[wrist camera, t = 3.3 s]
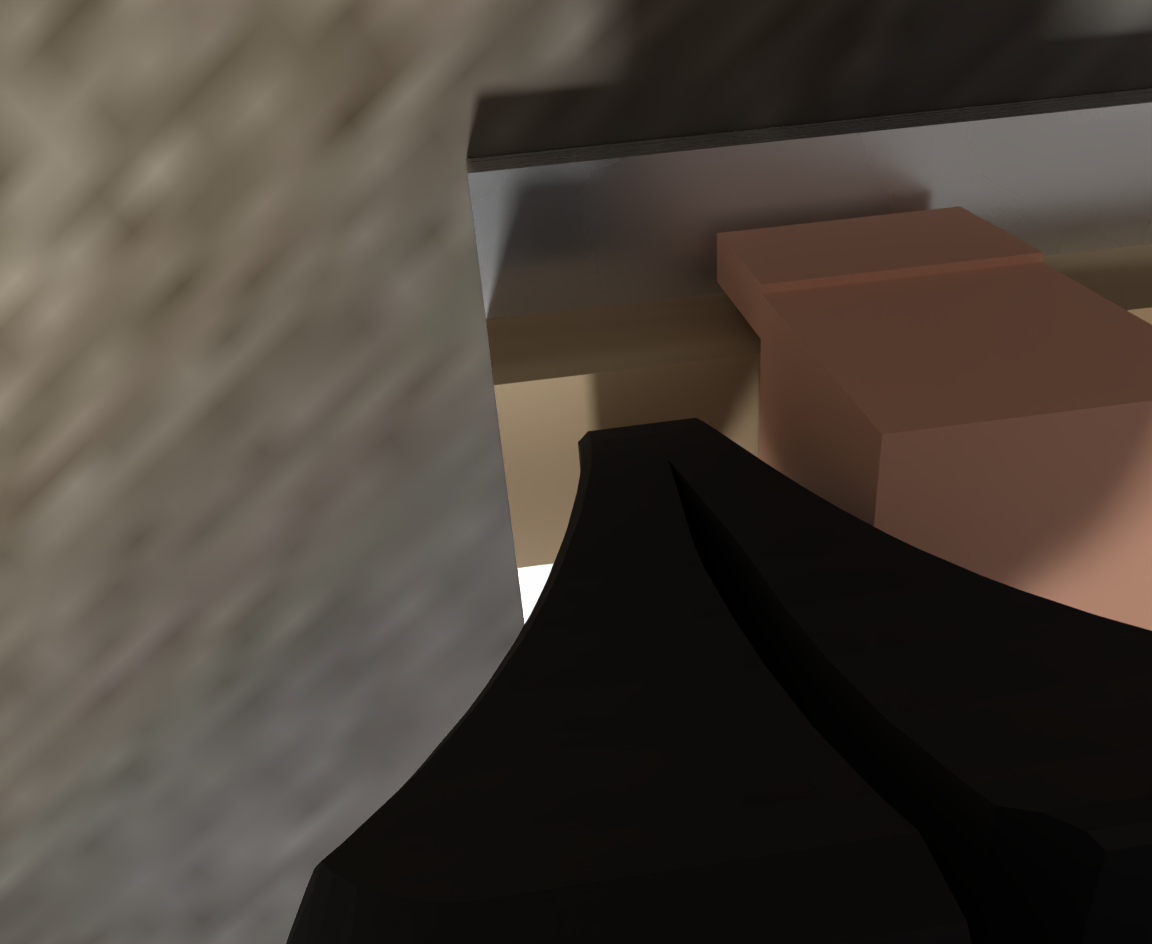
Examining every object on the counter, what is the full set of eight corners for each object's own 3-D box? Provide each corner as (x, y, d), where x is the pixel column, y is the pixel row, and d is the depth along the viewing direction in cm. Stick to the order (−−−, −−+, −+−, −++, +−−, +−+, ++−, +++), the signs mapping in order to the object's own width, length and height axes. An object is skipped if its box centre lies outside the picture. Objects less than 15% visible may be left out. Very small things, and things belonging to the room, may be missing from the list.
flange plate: (1486, 820, 21) (1525, 855, 21) (568, 966, 20) (573, 1009, 19) (1928, 8, 14) (2019, 13, 13) (466, 159, 12) (468, 175, 11)
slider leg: (889, 812, 17) (1045, 1121, 13) (719, 838, 17) (818, 1162, 13) (960, 206, 12) (1263, 375, 8) (716, 232, 12) (883, 422, 7)
